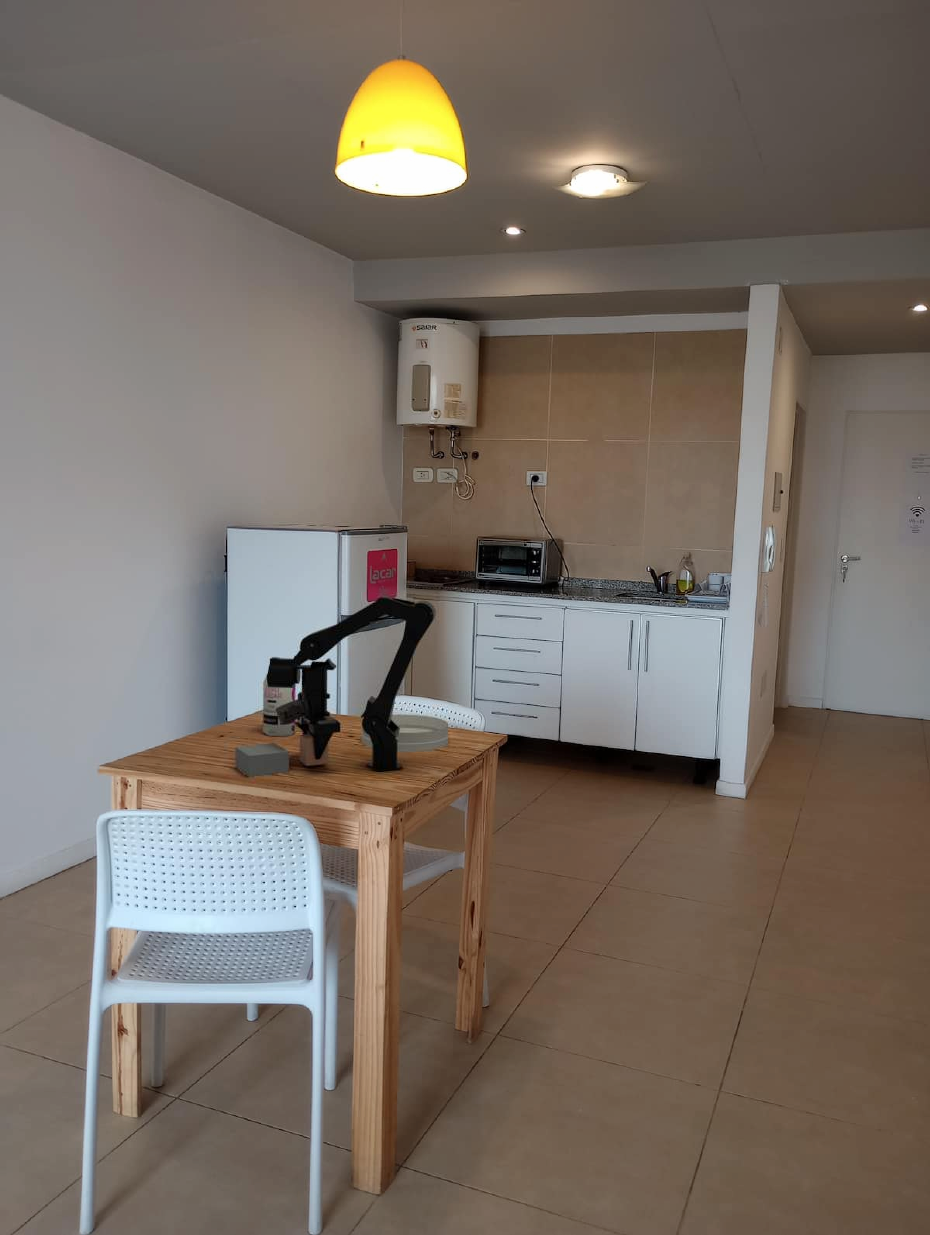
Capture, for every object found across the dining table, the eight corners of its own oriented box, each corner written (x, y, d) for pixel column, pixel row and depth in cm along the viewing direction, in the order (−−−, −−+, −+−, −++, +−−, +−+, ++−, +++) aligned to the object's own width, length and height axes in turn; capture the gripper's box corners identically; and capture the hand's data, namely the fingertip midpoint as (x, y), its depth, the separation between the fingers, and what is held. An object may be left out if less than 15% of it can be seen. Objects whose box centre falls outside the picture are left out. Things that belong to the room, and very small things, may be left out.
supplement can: (295, 729, 258) (295, 673, 257) (295, 736, 250) (295, 678, 249) (263, 730, 257) (263, 673, 255) (262, 737, 249) (262, 679, 247)
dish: (464, 740, 253) (464, 721, 252) (420, 757, 233) (421, 737, 233) (390, 729, 263) (391, 711, 262) (343, 745, 243) (343, 725, 243)
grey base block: (288, 773, 216) (288, 751, 215) (249, 778, 211) (249, 755, 210) (273, 764, 223) (273, 743, 223) (235, 769, 219) (235, 747, 218)
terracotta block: (327, 763, 221) (328, 737, 221) (306, 765, 219) (306, 739, 219) (320, 758, 226) (321, 733, 225) (299, 760, 224) (299, 734, 223)
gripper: (267, 684, 225) (267, 750, 227) (292, 698, 209) (291, 770, 210) (314, 681, 230) (313, 746, 232) (341, 695, 214) (340, 765, 216)
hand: (313, 756), depth 222 cm, fingers closed on terracotta block, 5 cm apart
